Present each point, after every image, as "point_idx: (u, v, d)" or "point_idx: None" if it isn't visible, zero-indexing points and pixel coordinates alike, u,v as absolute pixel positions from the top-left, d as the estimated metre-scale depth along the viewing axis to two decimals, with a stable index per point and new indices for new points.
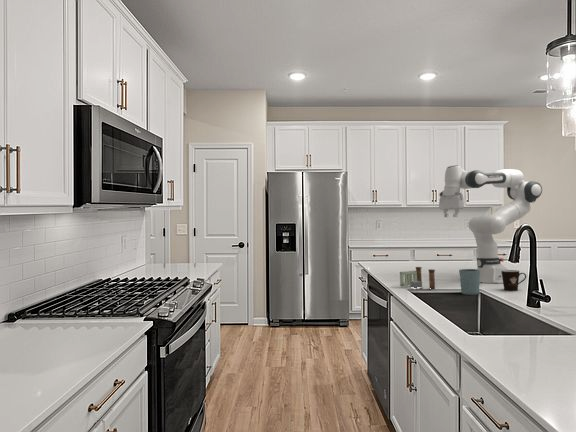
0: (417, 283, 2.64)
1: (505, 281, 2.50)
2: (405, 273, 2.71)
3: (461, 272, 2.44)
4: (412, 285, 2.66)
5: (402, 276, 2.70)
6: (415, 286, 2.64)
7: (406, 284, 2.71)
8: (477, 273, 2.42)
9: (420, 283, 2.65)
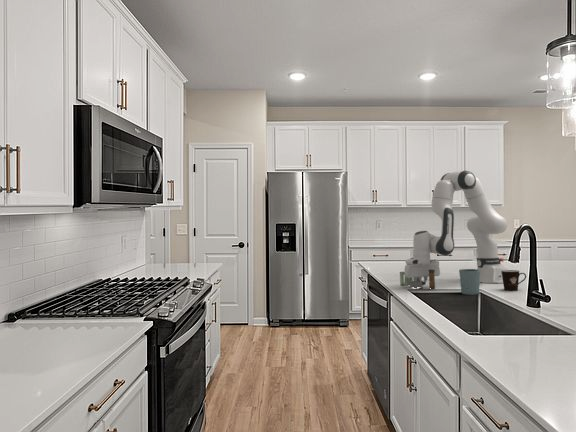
0: (417, 283, 2.64)
1: (505, 281, 2.50)
2: None
3: (461, 272, 2.44)
4: (412, 285, 2.66)
5: (402, 276, 2.70)
6: (415, 286, 2.64)
7: (406, 284, 2.71)
8: (477, 273, 2.42)
9: (420, 283, 2.65)
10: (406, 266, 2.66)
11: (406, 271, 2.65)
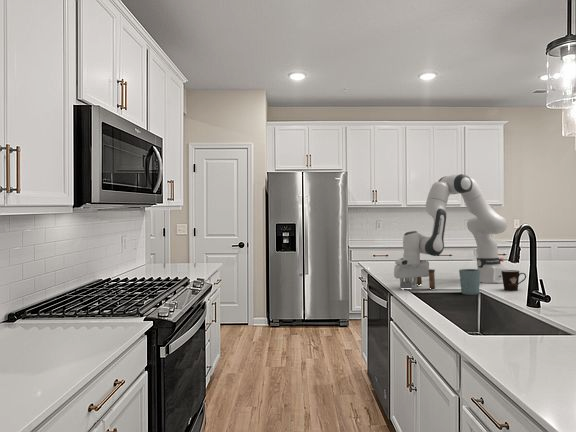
0: (407, 283, 2.63)
1: (505, 281, 2.50)
2: None
3: (461, 272, 2.44)
4: (402, 285, 2.65)
5: None
6: (404, 286, 2.63)
7: None
8: (477, 273, 2.42)
9: (410, 283, 2.63)
10: (396, 267, 2.64)
11: (396, 272, 2.63)
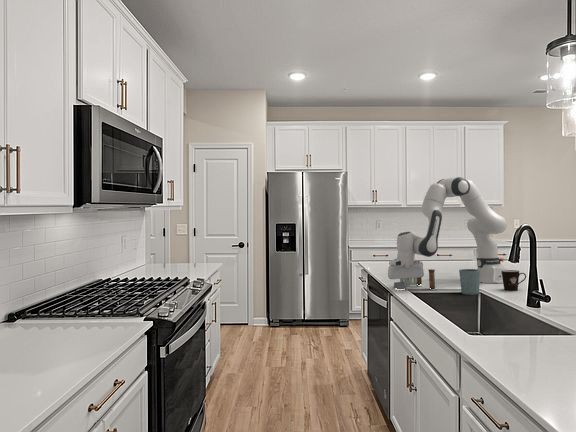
0: (400, 284, 2.62)
1: (505, 281, 2.50)
2: None
3: (461, 272, 2.44)
4: (395, 286, 2.64)
5: None
6: (398, 287, 2.62)
7: None
8: (477, 273, 2.42)
9: (403, 284, 2.63)
10: (389, 267, 2.64)
11: (389, 272, 2.63)
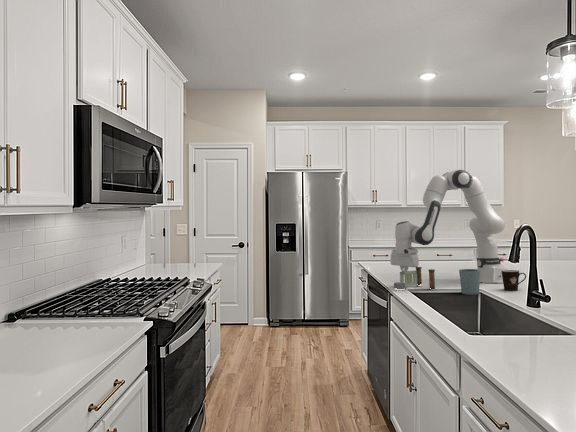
0: (400, 284, 2.62)
1: (505, 281, 2.50)
2: (405, 273, 2.71)
3: (461, 272, 2.44)
4: (395, 286, 2.64)
5: (402, 276, 2.70)
6: (398, 287, 2.62)
7: (406, 284, 2.71)
8: (477, 273, 2.42)
9: (403, 284, 2.63)
10: (414, 256, 2.66)
11: (416, 260, 2.66)
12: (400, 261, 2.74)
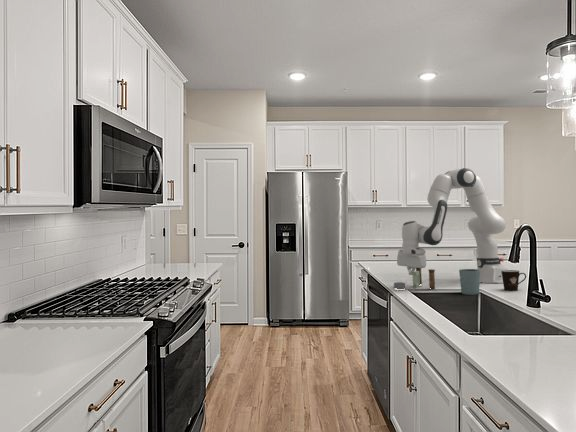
0: (400, 284, 2.62)
1: (505, 281, 2.50)
2: (416, 274, 2.67)
3: (461, 272, 2.44)
4: (395, 286, 2.64)
5: (415, 277, 2.65)
6: (398, 287, 2.62)
7: (417, 285, 2.67)
8: (477, 273, 2.42)
9: (403, 284, 2.63)
10: (421, 256, 2.61)
11: (424, 261, 2.61)
12: (407, 261, 2.69)
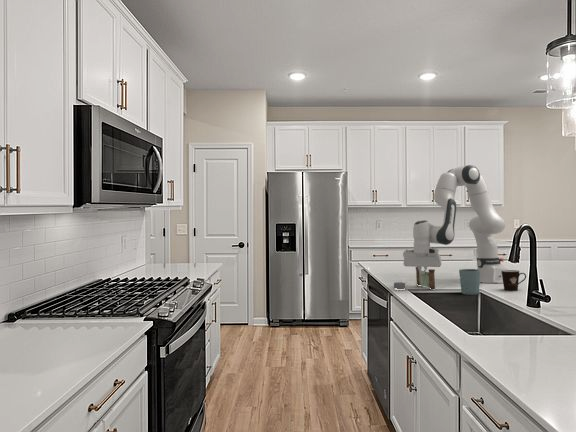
0: (400, 284, 2.62)
1: (505, 281, 2.50)
2: None
3: (461, 272, 2.44)
4: (395, 286, 2.64)
5: None
6: (398, 287, 2.62)
7: None
8: (477, 273, 2.42)
9: (403, 284, 2.63)
10: (439, 255, 2.62)
11: (440, 260, 2.63)
12: (420, 261, 2.65)
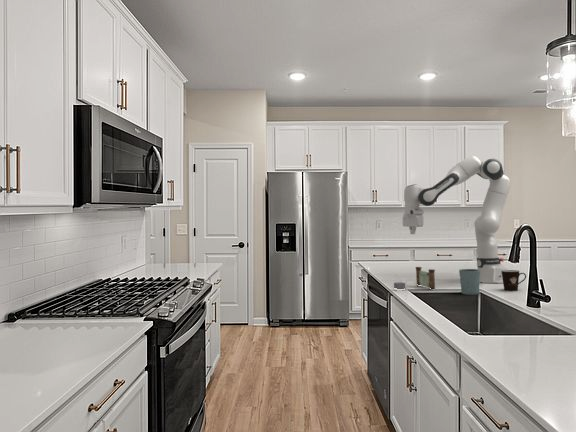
0: (400, 284, 2.62)
1: (505, 281, 2.50)
2: None
3: (461, 272, 2.44)
4: (395, 286, 2.64)
5: None
6: (398, 287, 2.62)
7: None
8: (477, 273, 2.42)
9: (403, 284, 2.63)
10: (419, 216, 2.82)
11: (421, 220, 2.82)
12: (409, 222, 2.92)
